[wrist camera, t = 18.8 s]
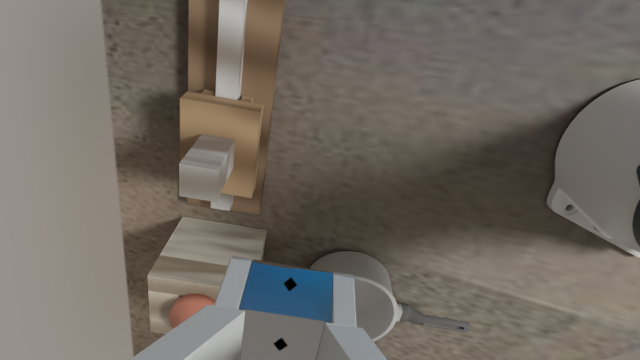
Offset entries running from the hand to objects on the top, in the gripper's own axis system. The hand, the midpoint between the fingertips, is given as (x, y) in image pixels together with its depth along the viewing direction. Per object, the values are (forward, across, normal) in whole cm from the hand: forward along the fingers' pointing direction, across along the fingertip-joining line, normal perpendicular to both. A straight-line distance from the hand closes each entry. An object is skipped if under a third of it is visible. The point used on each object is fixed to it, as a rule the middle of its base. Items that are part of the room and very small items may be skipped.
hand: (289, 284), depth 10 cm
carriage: (+29, -8, -10) cm, 32 cm away
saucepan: (+31, +12, -28) cm, 44 cm away
